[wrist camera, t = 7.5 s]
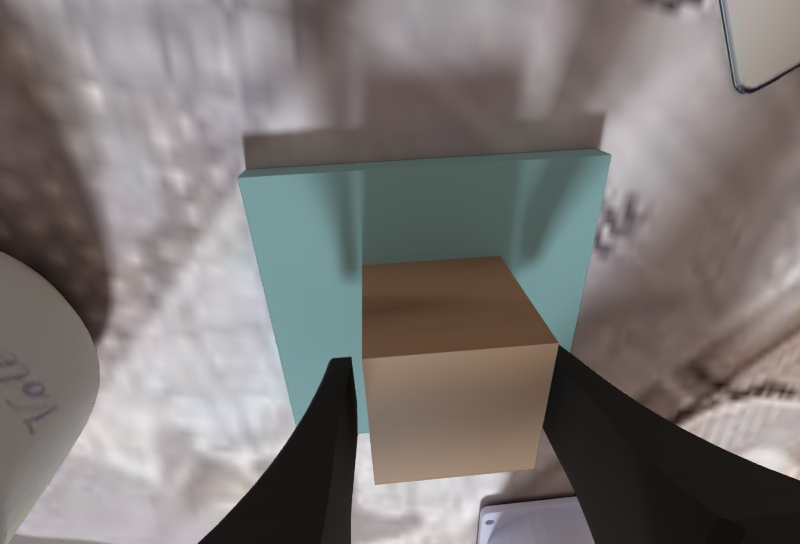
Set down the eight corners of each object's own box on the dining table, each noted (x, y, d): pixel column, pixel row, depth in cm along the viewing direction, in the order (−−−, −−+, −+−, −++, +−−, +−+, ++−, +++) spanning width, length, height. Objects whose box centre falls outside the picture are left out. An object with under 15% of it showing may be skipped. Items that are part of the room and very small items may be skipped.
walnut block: (489, 361, 17) (534, 469, 13) (371, 371, 17) (374, 484, 12) (500, 255, 15) (558, 342, 10) (362, 265, 14) (361, 358, 10)
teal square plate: (548, 398, 20) (557, 414, 19) (302, 421, 19) (299, 439, 18) (595, 148, 14) (611, 154, 13) (245, 169, 13) (237, 177, 13)
